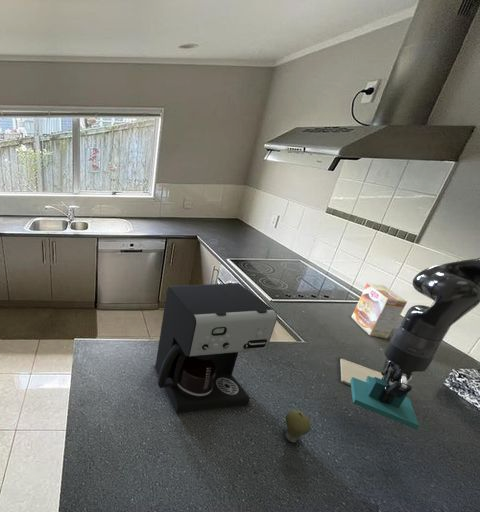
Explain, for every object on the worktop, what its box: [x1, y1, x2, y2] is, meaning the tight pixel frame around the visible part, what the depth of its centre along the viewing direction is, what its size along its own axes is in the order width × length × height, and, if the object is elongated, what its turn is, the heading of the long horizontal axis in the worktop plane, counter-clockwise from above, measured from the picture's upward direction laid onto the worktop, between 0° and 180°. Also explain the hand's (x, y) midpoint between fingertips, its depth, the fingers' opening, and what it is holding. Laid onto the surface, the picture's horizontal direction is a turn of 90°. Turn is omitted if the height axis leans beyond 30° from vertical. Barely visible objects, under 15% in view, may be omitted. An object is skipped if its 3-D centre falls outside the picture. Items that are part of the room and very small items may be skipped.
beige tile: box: [339, 358, 383, 387], centre depth 99 cm, size 14×14×2 cm
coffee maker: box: [154, 282, 278, 414], centre depth 87 cm, size 28×20×35 cm
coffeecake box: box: [351, 282, 408, 339], centre depth 126 cm, size 15×7×20 cm, turn 164°
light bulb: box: [285, 409, 312, 443], centre depth 76 cm, size 6×6×10 cm
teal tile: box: [350, 376, 420, 430], centre depth 76 cm, size 12×14×6 cm
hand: (383, 397), depth 75 cm, fingers closed on teal tile, 2 cm apart
